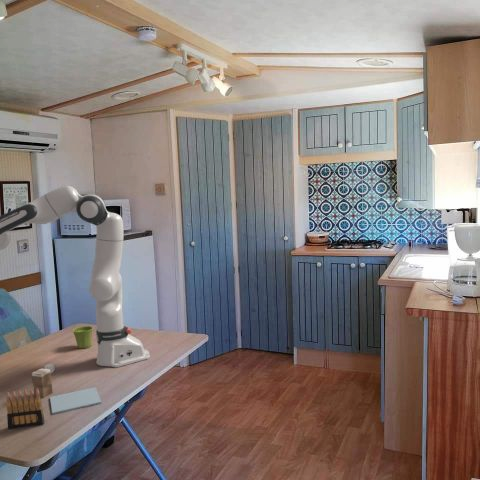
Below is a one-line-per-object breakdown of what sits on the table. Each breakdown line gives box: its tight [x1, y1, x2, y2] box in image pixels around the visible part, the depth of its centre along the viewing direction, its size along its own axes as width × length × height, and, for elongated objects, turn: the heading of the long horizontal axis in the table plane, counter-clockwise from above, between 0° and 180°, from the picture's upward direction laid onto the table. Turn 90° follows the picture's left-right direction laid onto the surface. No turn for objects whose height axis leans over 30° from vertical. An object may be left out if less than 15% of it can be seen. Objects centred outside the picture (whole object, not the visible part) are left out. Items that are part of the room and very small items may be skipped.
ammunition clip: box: [5, 388, 45, 430], centre depth 157 cm, size 11×2×12 cm, turn 100°
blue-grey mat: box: [49, 386, 102, 415], centre depth 174 cm, size 16×14×1 cm
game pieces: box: [43, 363, 56, 374], centre depth 199 cm, size 12×3×3 cm, turn 3°
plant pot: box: [72, 325, 94, 349], centre depth 233 cm, size 9×9×9 cm
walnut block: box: [31, 368, 53, 399], centre depth 181 cm, size 4×4×9 cm
